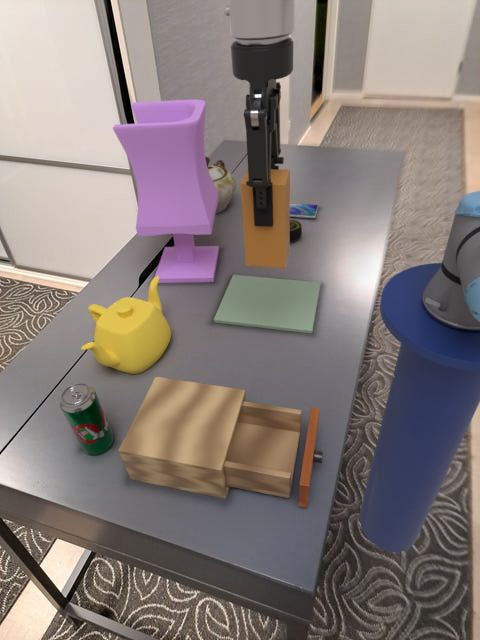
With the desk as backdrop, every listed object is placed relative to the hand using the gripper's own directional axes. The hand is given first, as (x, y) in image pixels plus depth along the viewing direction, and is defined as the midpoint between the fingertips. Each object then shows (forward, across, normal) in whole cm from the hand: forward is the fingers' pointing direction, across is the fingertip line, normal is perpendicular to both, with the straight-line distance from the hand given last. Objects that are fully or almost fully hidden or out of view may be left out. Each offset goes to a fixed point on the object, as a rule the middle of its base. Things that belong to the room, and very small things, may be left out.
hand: (267, 215), depth 68 cm
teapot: (+27, +6, -27) cm, 38 cm away
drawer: (+26, +26, +4) cm, 37 cm away
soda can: (+27, +27, -23) cm, 45 cm away
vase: (+27, -23, -24) cm, 43 cm away
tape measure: (+27, -38, -2) cm, 47 cm away
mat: (+27, -11, -2) cm, 29 cm away
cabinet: (+27, +25, -8) cm, 38 cm away
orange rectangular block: (+8, 0, 0) cm, 8 cm away
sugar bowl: (+27, -53, -26) cm, 65 cm away
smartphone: (+27, -52, -3) cm, 59 cm away
